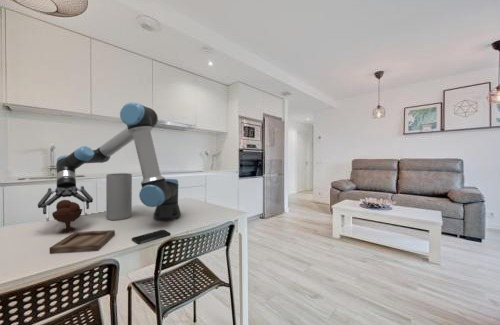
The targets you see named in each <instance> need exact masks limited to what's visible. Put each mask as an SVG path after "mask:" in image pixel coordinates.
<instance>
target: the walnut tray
mask: <svg viewBox="0 0 500 325" xmlns="http://www.w3.org/2000/svg"><path fill="white" fill-rule="evenodd" d="M115 235H116V230H115V229H114V230H111V229H110V230H92V231H91V230H90V231H89V230H88V231H86V230H85V231H73V232H71V234H70V235H68V236H66V237H65V238H63V239H61V240H60V241H58V242H56V243H55V244H54V245H52V246H50V247H49V254H51V255H52V254H65V253H81V252H82V253H84V252H96V251H97V252H98V251H99V250H100V249H101V248H103V246H105V245H106V244H107V243H108V242H109V241H110V240H111V239H113V237H114V236H115Z"/></svg>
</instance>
